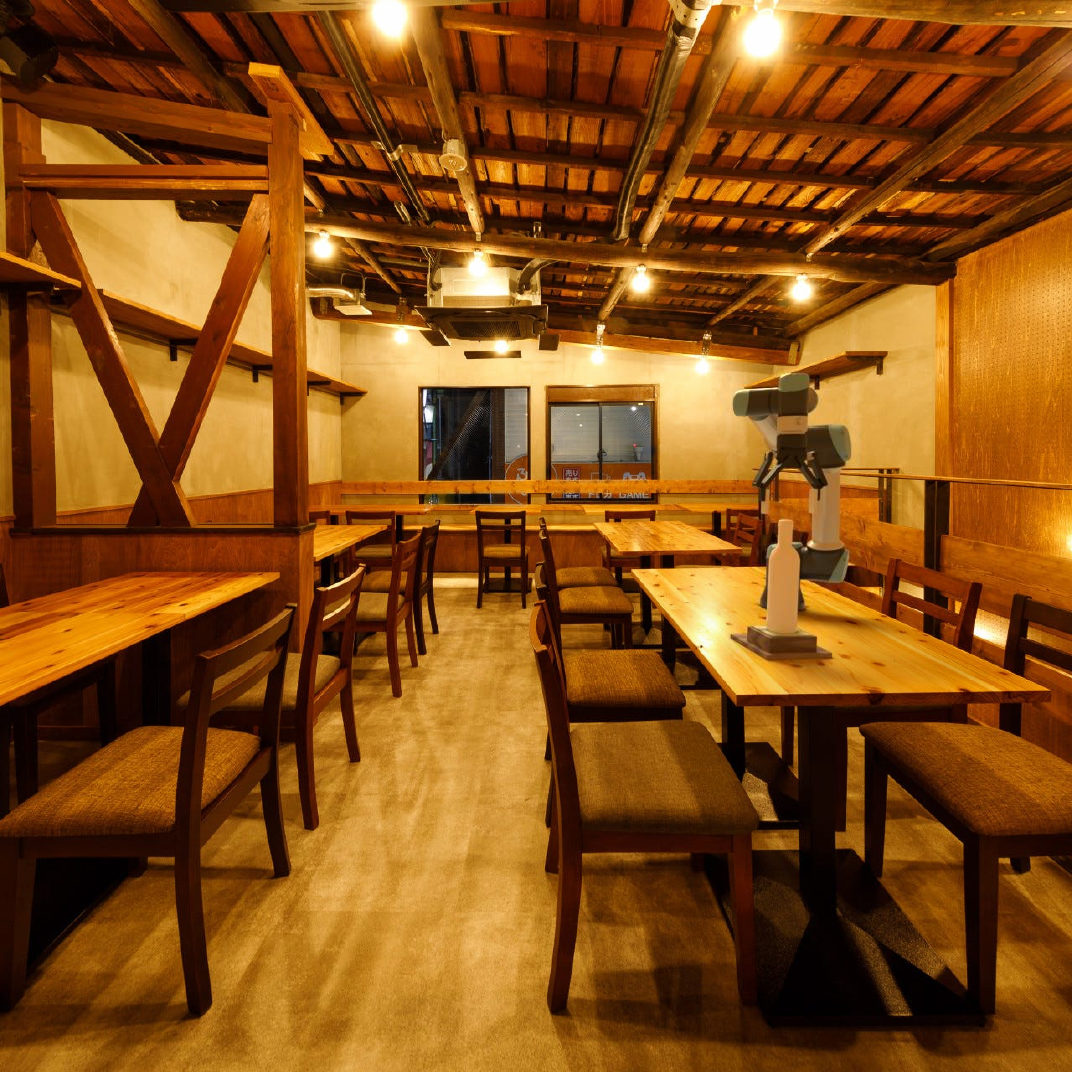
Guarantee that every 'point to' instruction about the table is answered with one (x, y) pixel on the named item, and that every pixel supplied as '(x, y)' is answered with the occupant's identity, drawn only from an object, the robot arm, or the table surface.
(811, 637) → the stand
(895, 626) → the table surface
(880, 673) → the table surface
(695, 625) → the table surface
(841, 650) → the table surface
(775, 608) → the bottle
